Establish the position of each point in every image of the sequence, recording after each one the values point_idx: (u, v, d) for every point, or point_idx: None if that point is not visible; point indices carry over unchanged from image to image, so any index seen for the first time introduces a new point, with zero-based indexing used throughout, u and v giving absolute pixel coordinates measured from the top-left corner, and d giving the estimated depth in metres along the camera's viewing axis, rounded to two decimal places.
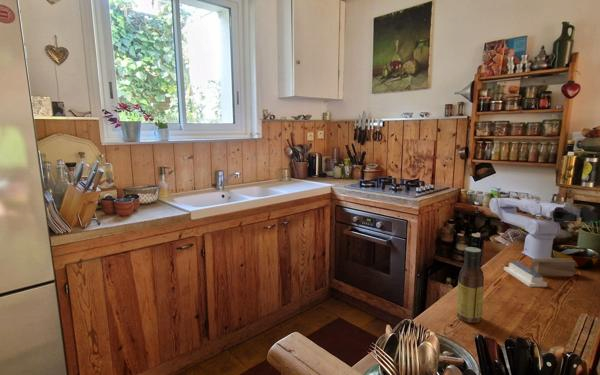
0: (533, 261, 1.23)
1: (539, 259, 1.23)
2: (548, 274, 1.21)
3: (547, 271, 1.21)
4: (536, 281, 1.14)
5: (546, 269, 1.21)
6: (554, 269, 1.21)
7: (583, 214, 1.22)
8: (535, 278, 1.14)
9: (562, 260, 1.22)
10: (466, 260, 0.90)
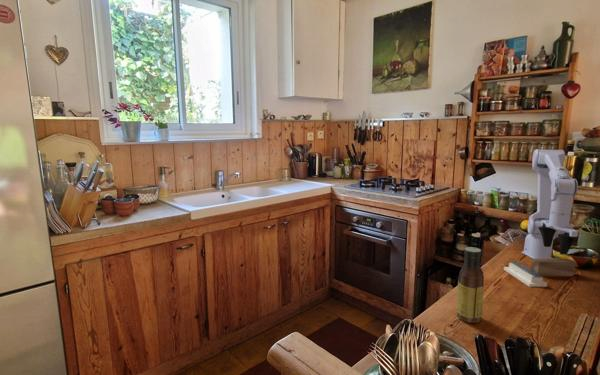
0: (533, 261, 1.23)
1: (539, 259, 1.23)
2: (548, 274, 1.21)
3: (547, 271, 1.21)
4: (536, 281, 1.14)
5: (546, 269, 1.21)
6: (555, 269, 1.21)
7: None
8: (535, 278, 1.14)
9: (562, 260, 1.22)
10: (466, 260, 0.90)
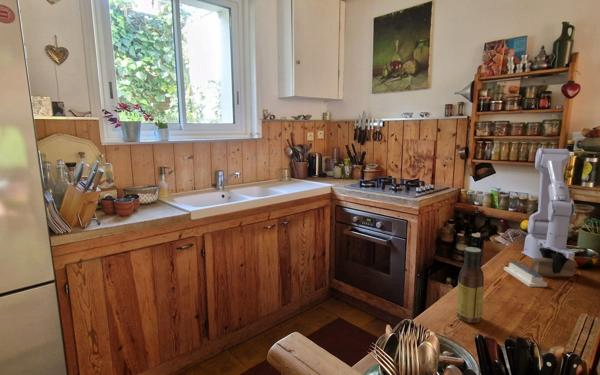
0: (533, 261, 1.23)
1: (539, 258, 1.23)
2: (548, 274, 1.21)
3: (547, 271, 1.21)
4: (536, 281, 1.14)
5: (546, 269, 1.21)
6: None
7: None
8: (535, 278, 1.14)
9: None
10: (466, 260, 0.90)
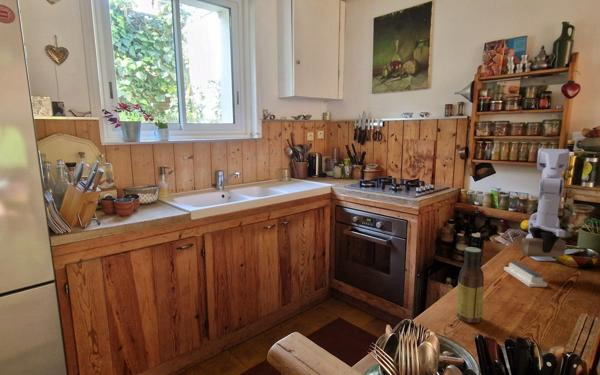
0: (523, 241, 1.20)
1: (529, 239, 1.20)
2: (538, 254, 1.18)
3: (537, 251, 1.18)
4: (536, 281, 1.14)
5: (536, 249, 1.18)
6: None
7: None
8: (535, 278, 1.14)
9: None
10: (466, 260, 0.90)
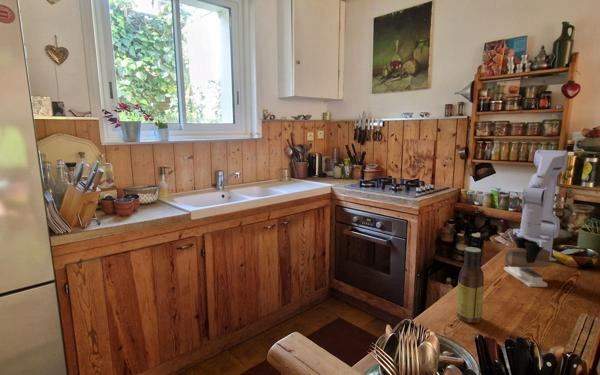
0: (507, 251, 1.19)
1: (513, 249, 1.19)
2: (522, 264, 1.17)
3: (521, 261, 1.17)
4: (536, 281, 1.14)
5: (520, 259, 1.17)
6: None
7: None
8: (535, 278, 1.14)
9: None
10: (466, 260, 0.90)
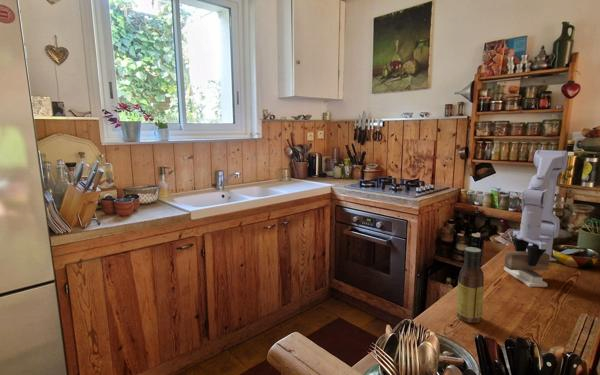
0: (507, 254, 1.19)
1: (513, 252, 1.19)
2: (522, 267, 1.17)
3: (521, 264, 1.17)
4: (536, 281, 1.14)
5: (520, 263, 1.17)
6: None
7: None
8: (535, 278, 1.14)
9: None
10: (466, 260, 0.90)
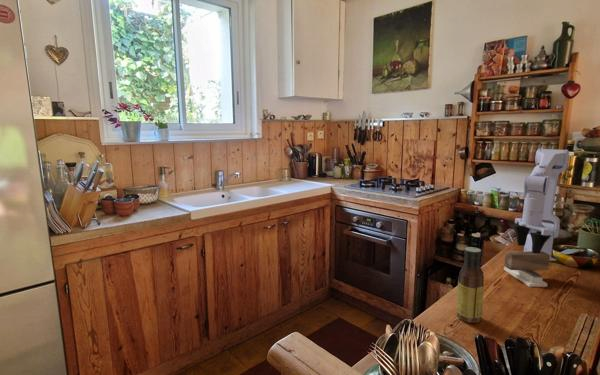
0: (507, 254, 1.19)
1: (513, 252, 1.19)
2: (522, 267, 1.17)
3: (521, 264, 1.17)
4: (536, 281, 1.14)
5: (520, 263, 1.17)
6: (528, 262, 1.17)
7: None
8: (535, 278, 1.14)
9: (536, 253, 1.18)
10: (466, 260, 0.90)
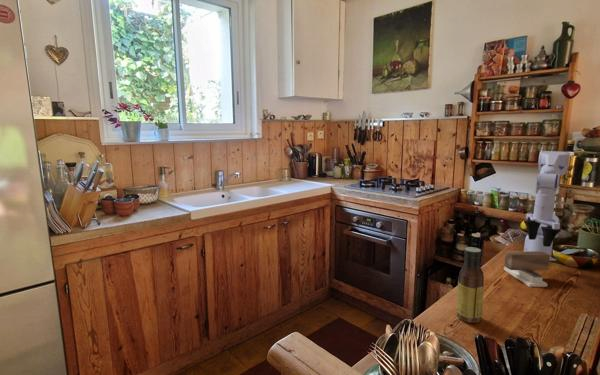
0: (507, 254, 1.19)
1: (513, 252, 1.19)
2: (522, 267, 1.17)
3: (521, 264, 1.17)
4: (536, 281, 1.14)
5: (520, 263, 1.17)
6: (528, 262, 1.17)
7: None
8: (535, 278, 1.14)
9: (536, 253, 1.18)
10: (466, 260, 0.90)
